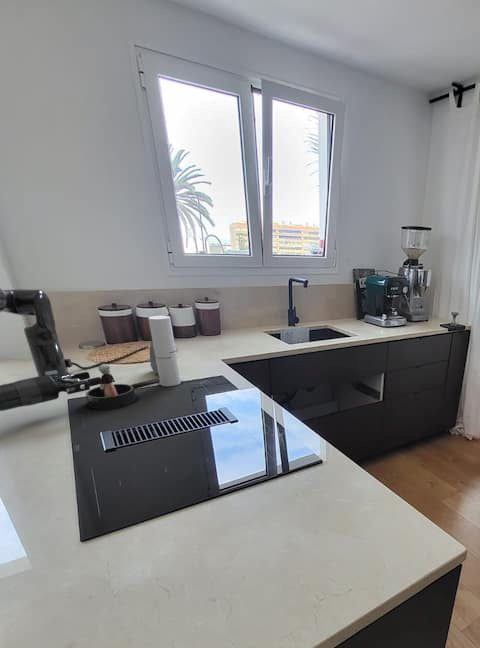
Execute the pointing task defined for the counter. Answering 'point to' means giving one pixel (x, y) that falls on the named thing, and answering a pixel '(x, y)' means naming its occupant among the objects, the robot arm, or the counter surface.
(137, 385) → the pan handle
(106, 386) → the grandmother figurine
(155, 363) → the decorative rock
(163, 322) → the cylindrical container
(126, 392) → the pan
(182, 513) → the counter surface
